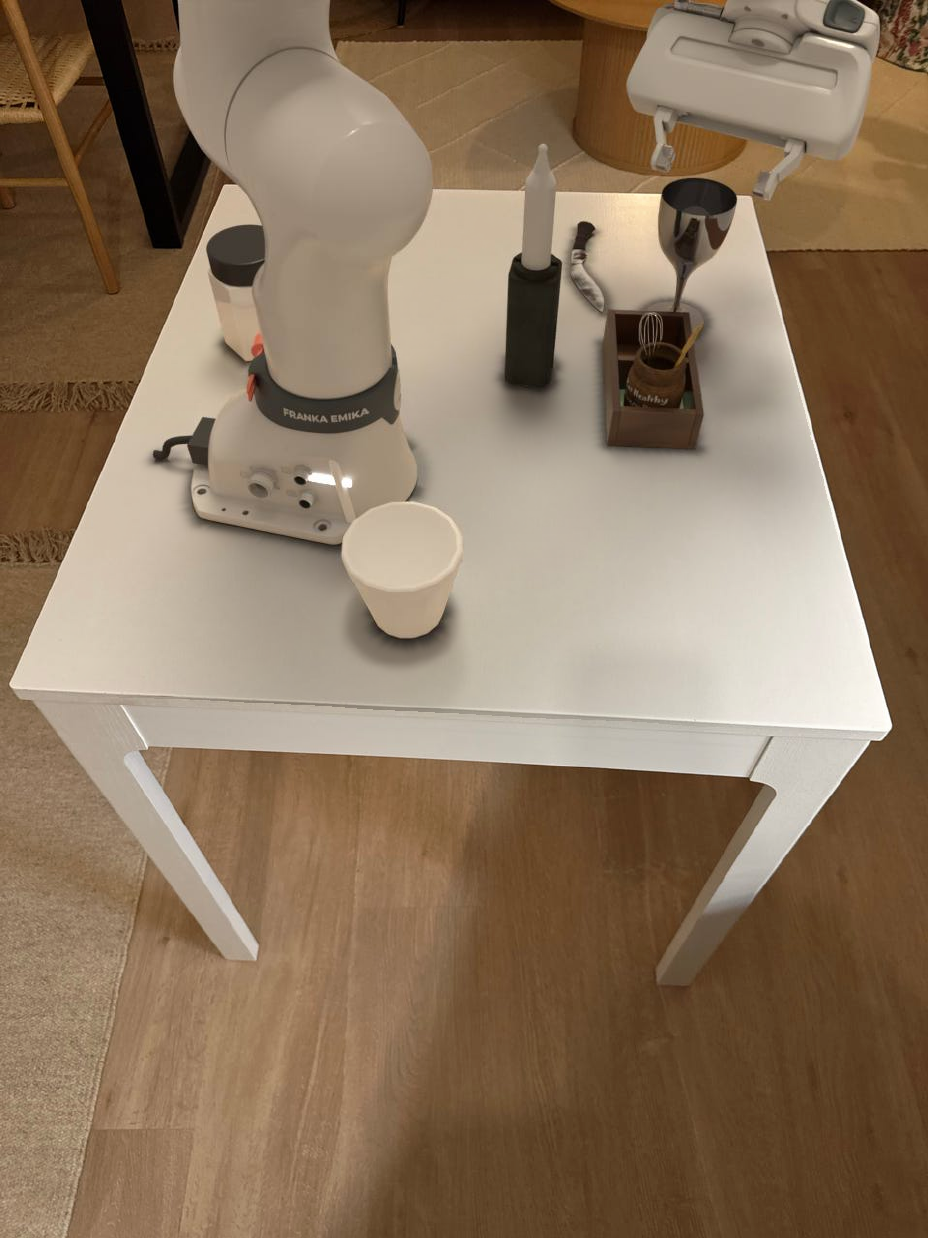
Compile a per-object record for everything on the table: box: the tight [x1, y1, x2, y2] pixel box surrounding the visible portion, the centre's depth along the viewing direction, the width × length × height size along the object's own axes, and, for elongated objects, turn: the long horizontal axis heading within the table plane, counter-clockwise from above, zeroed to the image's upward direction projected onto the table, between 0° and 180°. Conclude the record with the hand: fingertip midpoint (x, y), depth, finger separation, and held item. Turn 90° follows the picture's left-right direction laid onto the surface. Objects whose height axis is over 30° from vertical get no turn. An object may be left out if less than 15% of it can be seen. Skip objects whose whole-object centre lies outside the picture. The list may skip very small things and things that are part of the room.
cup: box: [341, 501, 464, 640], centre depth 77 cm, size 10×10×9 cm
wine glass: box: [645, 177, 738, 333], centre depth 101 cm, size 8×8×15 cm
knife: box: [570, 220, 605, 313], centre depth 113 cm, size 18×1×5 cm
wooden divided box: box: [602, 308, 705, 450], centre depth 97 cm, size 9×17×5 cm, turn 176°
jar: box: [205, 223, 265, 362], centre depth 100 cm, size 9×8×12 cm
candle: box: [503, 143, 563, 388], centre depth 91 cm, size 5×5×25 cm
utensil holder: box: [623, 312, 704, 408], centre depth 91 cm, size 6×6×12 cm
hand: (708, 182), depth 78 cm, fingers open, 8 cm apart
